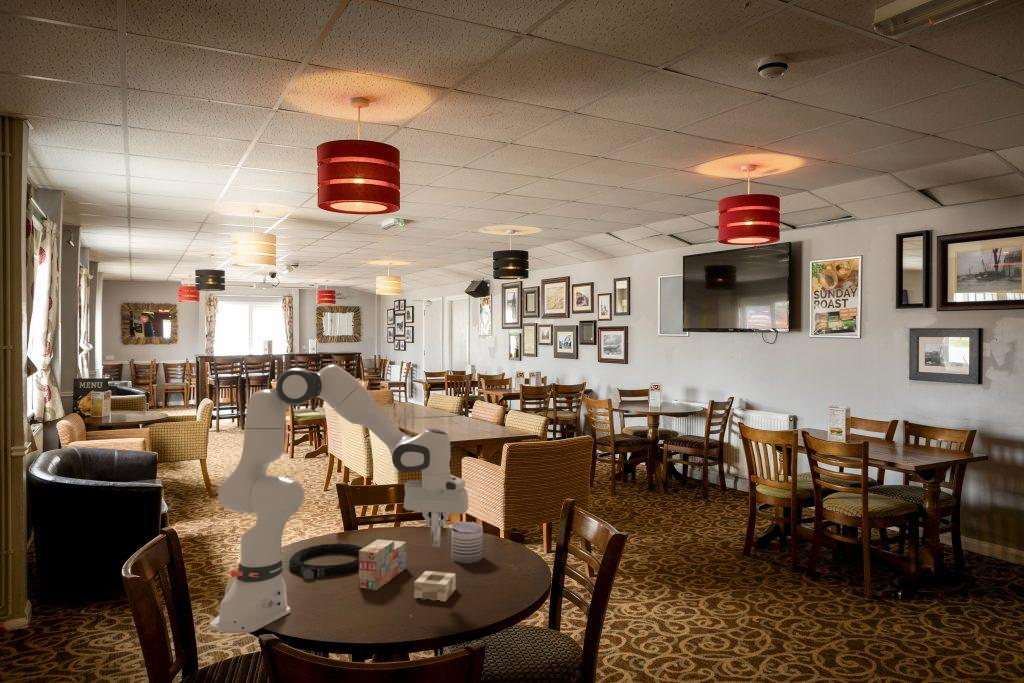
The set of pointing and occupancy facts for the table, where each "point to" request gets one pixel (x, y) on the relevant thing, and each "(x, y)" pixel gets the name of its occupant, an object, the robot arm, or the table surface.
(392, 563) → the stack of blocks
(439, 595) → the light wooden square frame
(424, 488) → the robot arm
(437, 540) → the silver metal rod
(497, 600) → the table surface
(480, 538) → the can
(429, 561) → the table surface
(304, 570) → the cable lock
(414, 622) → the table surface
